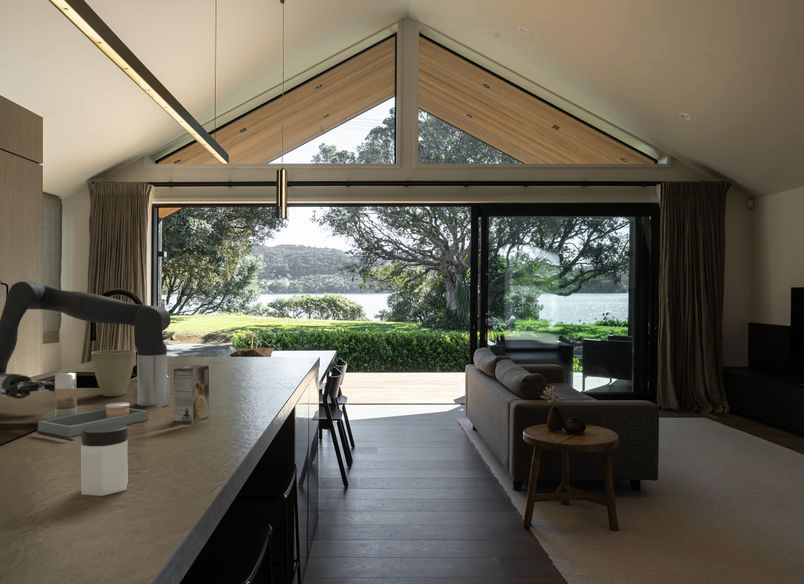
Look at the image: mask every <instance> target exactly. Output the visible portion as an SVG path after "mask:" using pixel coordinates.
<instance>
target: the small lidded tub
mask: <svg viewBox="0 0 804 584" xmlns="http://www.w3.org/2000/svg"><path fill="white" fill-rule="evenodd" d="M130 406H131V403H130V402H125V401H124V402H123V401H122V402H112V403H111V402H110V403H107V404H105V409H106V419H109V418H114V417H119V416H124V415H128V414H129V408H130Z"/></svg>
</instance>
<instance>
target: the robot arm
mask: <svg viewBox="0 0 804 584" xmlns="http://www.w3.org/2000/svg"><path fill="white" fill-rule="evenodd" d="M28 310H46V311H53V312H59V313H62V314H64V315H67V316H68V317H72V318H74V319H76V320H81V321H84V322H90V323H98V324H107V325H110V324H111V325H127V326H133V338H134V345H135V350H136V367H137V368H136V369H137V370H136V373H137V374H136V375H137V376H136V389H137V390H136V391H137V394H136V396H137V397H136V399H137V400H136V403H137V406H142V407H156V408H157V407H158V408H159V407H160V408H162V407H166V406H168V405H170V403H171V401H170V398H171V397H170V395H171V394H170V393H171V392H170V386H171V385H170V376H169V375H168V354H167V351H168V346H167V345H166V344H165V342H164V336H163V332H164V331H165V330H167V328H169V326H170V325H171V316H170V313H169V312H168V310H167V309H165V308H164V307H162V306H159V305H146V304H137V303H136V304H135V303H130V302H126V301H123V300H121V299H117V298H113V297H108V296H104V295H100V294H96V293H90V292H82V291H75V290H74V291H71V290H62V289H58V288H55V287H52V286H49V285H46V284H43V283H39V282H36V281H24V280H23V281H17V282H15V283H13V284H12V286H10V288H9V290H8V293H7V295H6V298H5V303H4V306H3V309H2V312H1V316H0V396H2V397H5V398H10V399H17V400H21V399H24V398H25V399H26V398H27V397H29V396H30V395H31V394H36V393H44V392H53V393H55V380H54V381H52V380H41V381H40V380H37V381H36V380H32V379H31V377H30V376H28V375H26V374H19V373H13V372H12V373H11V372H10V373H7V368H8V365H9V361H10V359H11V357H12V355H13V354H14V351H15V349H16V346H17V342H18V336H19V335H18V333H19V327H20V323H21V320H22V319H23V316H24V315H25V313H26V312H27V311H28ZM39 389H40V390H39Z"/></svg>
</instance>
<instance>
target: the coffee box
mask: <svg viewBox="0 0 804 584" xmlns="http://www.w3.org/2000/svg"><path fill="white" fill-rule="evenodd" d="M173 393H174V394H173V397H174V399H173V405H174V408H173V409H174V411H173V412H174V421H175V422H184V423H183V425H189V424H191V425H192V426H193V425H197V424H198V423H201V422H203V421H205V420H208V419H209V417H208V416H210V370H209V365H207V364H206V365H205V364H204V365H201V364H200V365H198V364H197V365H196V364H195V365H194V364H191V365H186V366H181V367H177V368H174V369H173ZM185 422H186V423H185ZM191 425H190V426H191Z"/></svg>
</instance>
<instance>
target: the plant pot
mask: <svg viewBox="0 0 804 584" xmlns="http://www.w3.org/2000/svg"><path fill="white" fill-rule="evenodd" d="M136 354H137V350H132V349H111V350H95V351H92V352H91V353H90V355H91V361H92V366H93V372H94V375H95V378H96V382H97V385H98V389H99V391H100V392H101V394H102V396H103V397H118V396H123V395H125V393H126V391H127V388H128V385H129V383H130V381H131V376H132V373H133V368H134V365H135V359H136Z"/></svg>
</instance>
